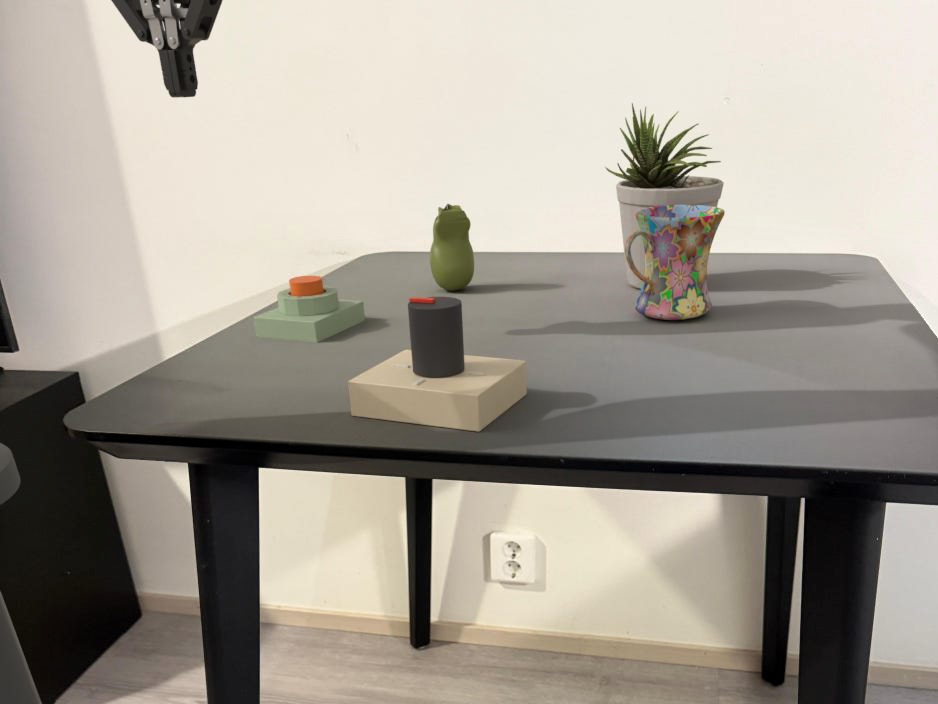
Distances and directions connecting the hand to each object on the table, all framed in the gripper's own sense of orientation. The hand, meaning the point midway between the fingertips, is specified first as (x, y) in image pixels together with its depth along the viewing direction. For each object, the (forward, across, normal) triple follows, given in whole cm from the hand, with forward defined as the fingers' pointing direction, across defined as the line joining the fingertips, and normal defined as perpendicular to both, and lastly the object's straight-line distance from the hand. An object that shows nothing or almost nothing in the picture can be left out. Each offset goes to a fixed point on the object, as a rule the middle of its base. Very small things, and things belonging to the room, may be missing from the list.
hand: (183, 96), depth 87 cm
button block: (+23, +5, +9) cm, 25 cm away
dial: (+20, +31, -10) cm, 38 cm away
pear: (+23, +12, +31) cm, 40 cm away
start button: (+19, +5, +9) cm, 22 cm away
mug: (+22, +41, +25) cm, 53 cm away
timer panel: (+23, +31, -10) cm, 40 cm away
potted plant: (+22, +36, +41) cm, 59 cm away
